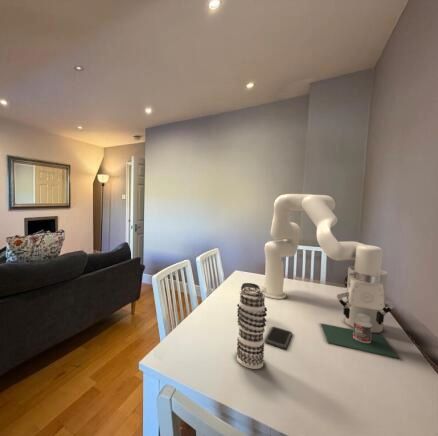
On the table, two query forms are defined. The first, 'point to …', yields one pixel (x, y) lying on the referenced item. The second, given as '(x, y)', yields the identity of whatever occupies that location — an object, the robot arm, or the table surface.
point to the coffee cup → (249, 285)
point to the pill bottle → (362, 328)
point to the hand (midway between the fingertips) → (362, 320)
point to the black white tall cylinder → (251, 327)
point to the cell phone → (278, 337)
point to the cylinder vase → (369, 312)
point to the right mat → (346, 340)
